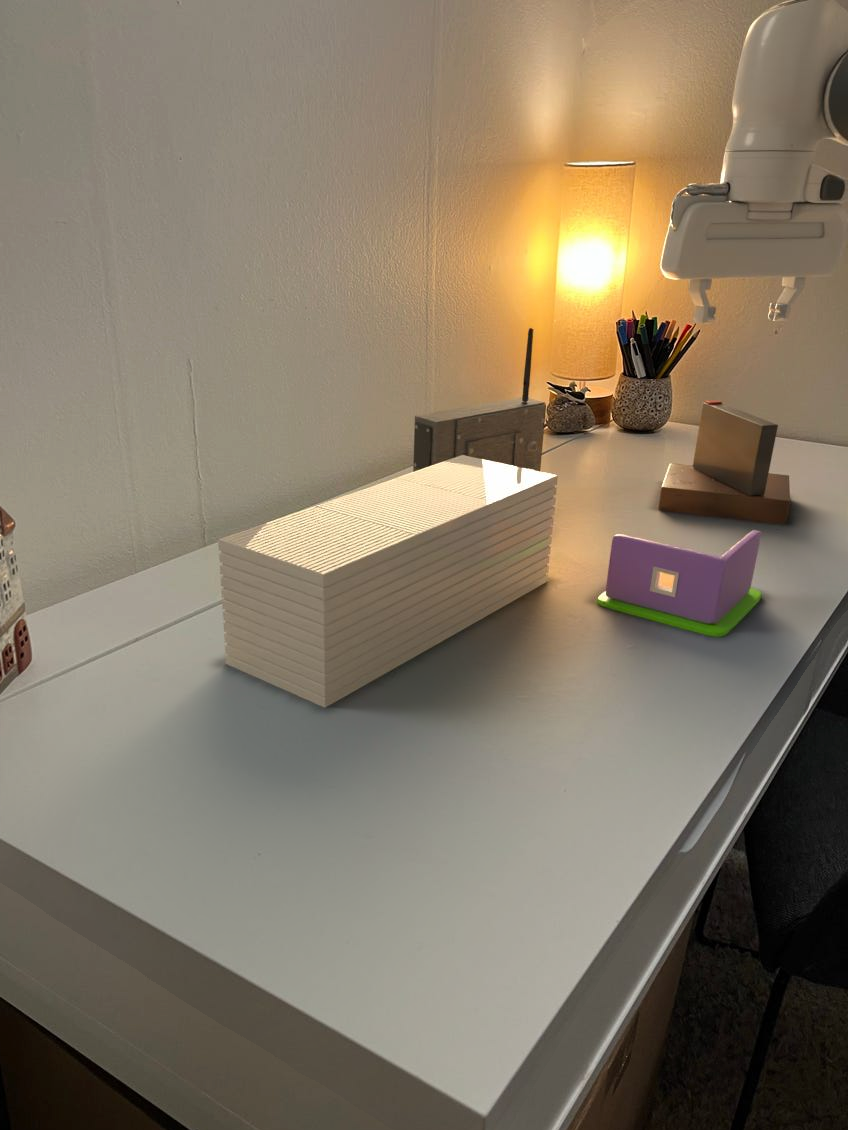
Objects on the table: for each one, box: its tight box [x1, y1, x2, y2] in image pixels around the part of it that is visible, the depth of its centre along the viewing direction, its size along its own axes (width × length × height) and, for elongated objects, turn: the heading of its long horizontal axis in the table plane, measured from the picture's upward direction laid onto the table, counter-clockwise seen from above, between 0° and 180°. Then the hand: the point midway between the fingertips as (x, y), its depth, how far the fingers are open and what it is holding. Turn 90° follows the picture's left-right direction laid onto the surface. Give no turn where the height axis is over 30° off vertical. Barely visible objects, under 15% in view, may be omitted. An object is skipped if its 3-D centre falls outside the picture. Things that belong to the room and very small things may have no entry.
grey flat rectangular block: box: [692, 399, 779, 496], centre depth 112 cm, size 12×2×8 cm, turn 14°
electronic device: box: [412, 327, 547, 472], centre depth 109 cm, size 17×7×20 cm, turn 128°
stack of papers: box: [217, 455, 559, 708], centre depth 82 cm, size 32×11×11 cm, turn 140°
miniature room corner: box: [596, 529, 762, 638], centre depth 87 cm, size 12×12×7 cm
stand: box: [657, 462, 791, 525], centre depth 115 cm, size 14×11×3 cm
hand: (740, 321), depth 106 cm, fingers open, 8 cm apart
